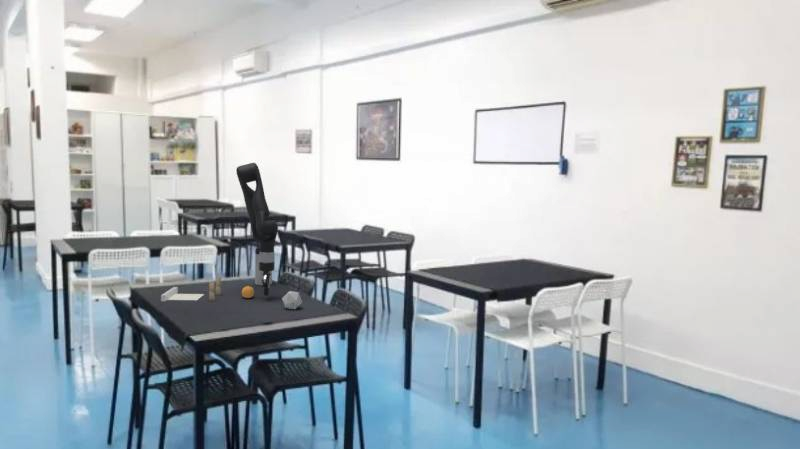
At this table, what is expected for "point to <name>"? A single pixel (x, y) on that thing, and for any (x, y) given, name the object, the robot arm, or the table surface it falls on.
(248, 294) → the ball
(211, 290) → the post
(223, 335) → the table surface
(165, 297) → the stopper wall
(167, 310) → the table surface
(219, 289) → the post
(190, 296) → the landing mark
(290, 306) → the die
